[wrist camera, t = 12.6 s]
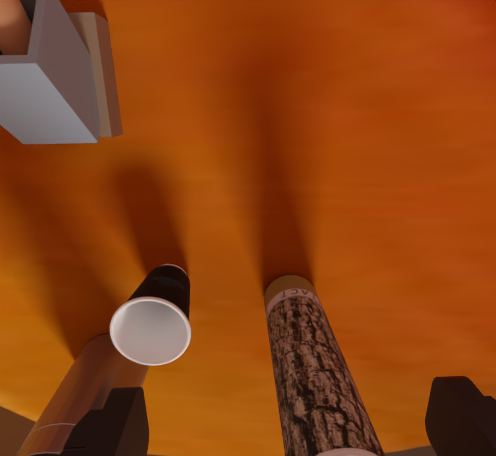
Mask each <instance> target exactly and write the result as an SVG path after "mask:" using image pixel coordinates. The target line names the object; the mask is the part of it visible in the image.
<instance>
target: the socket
mask: <svg viewBox="0 0 496 456" xmlns="http://www.w3.org/2000/svg"><path fill="white" fill-rule="evenodd" d="M20 2H21V4H22V6H23V8H24V10H25V12H26V14H27V15H28V17H29V19H30V21H31V23H32V30H31V36H30V42H29V48H28V54H27V55H3V54H2V52H1V50H0V125H1V126H2V127H3V128H5V129H6V130H7V131H8V132H9V133H10V134H12V135H13V136H14V137H15V138H16V139H18V140H19V141H20V142H21V143H22V144H64V143H98V140H99V137H114V136H118V135H121V134H122V128H121V120H120V112H119V105H118V97H117V89H116V82H115V74H114V66H113V58H112V51H111V43H110V35H109V28H108V21H107V20H106V19H104V18H103V17H101V16H100V15H98V14H96V13H95V12H66V11H65V9H64V7H63V6H62V4H61V2H60V0H20Z"/></svg>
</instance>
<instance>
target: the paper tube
mask: <svg viewBox="0 0 496 456" xmlns="http://www.w3.org/2000/svg"><path fill="white" fill-rule="evenodd" d="M264 304H265V312H266V320H267V327H268V335H269V342H270V349H271V356H272V363H273V371H274V378H275V385H276V392H277V399H278V407H279V414H280V421H281V428H282V435H283V443H284V450H285V456H385V454H384V452H383V449H382V447H381V445H380V442H379V440H378V438H377V435H376V433H375V431H374V428H373V426H372V423H371V421H370V419H369V416H368V414H367V412H366V409H365V407H364V404H363V402H362V400H361V397H360V395H359V393H358V390H357V388H356V386H355V383H354V381H353V378H352V376H351V374H350V371H349V369H348V367H347V364H346V362H345V359H344V357H343V355H342V352H341V350H340V348H339V345H338V343H337V341H336V338H335V336H334V333H333V331H332V329H331V326H330V324H329V322H328V319H327V317H326V314H325V312H324V310H323V307H322V305H321V303H320V301H319V298H318V296H317V294H316V291H315V289H314V287H313V285H312V284H311V283H310V282H309V281H308V280H307V279H305V278H303V277H301V276H297V275H285V276H282V277H279V278H277V279H275V280H274V281H273V282H272V283H271V284H270V285H269V286H268V288H267V289H266V292H265V295H264Z"/></svg>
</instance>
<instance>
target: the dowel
mask: <svg viewBox="0 0 496 456" xmlns="http://www.w3.org/2000/svg"><path fill="white" fill-rule="evenodd" d="M31 30H32V23H31V21H30V19H29V17H28V15H27V14H26V12H25V10H24V8H23V6H22V4H21V2H20V0H0V50H1V52H2V54H3V55H27V54H28V48H29V42H30V36H31Z"/></svg>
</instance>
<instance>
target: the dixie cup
mask: <svg viewBox="0 0 496 456" xmlns="http://www.w3.org/2000/svg"><path fill="white" fill-rule="evenodd" d="M189 305H190V281H189V278H188V276H187V274H186V272H185V271H184V270H183V269H182V268H181V267H179V266H177V265H175V264H163V265H161V266H159V267H157V268H155V269H154V270H152V271H151V272H150V274H149V275H148V276H147V277H146V278H145V280H144V281H143V282H142V283H141V285H140V286H139V287H138V288H137V290H136V291H135V292H134V293H133V295H132V296H131V297H130V298H129V299H128V301H127V302H126V303H124V304H123V305H121V306H120V307H119V308H118V309H117V310H116V312H115V313H114V315H113V317H112V319H111V322H110V336H111V339H112V342H113V344H114V345H115V347H116V348H117V350H118V351H119V352H120V353H121V354H122V355H124V356H125V357H126V358H128V359H130V360H132V361H134V362H136V363H140V364H144V365H162V364H166V363H169V362H171V361H173V360H175V359H177V358H178V357H179V356H181V355H182V354H183V353H184V351H185V350H186V348H187V347H188V345H189V342H190V339H191V328H190V324H189Z"/></svg>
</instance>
